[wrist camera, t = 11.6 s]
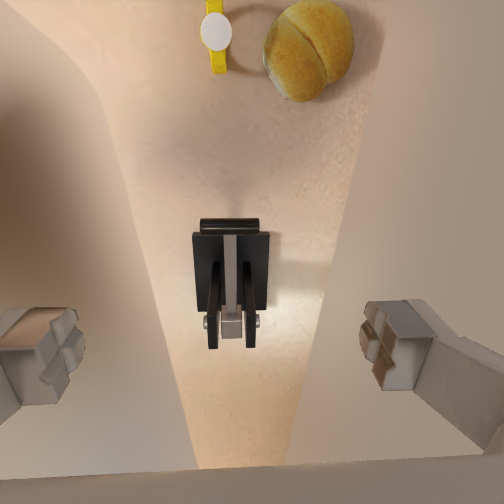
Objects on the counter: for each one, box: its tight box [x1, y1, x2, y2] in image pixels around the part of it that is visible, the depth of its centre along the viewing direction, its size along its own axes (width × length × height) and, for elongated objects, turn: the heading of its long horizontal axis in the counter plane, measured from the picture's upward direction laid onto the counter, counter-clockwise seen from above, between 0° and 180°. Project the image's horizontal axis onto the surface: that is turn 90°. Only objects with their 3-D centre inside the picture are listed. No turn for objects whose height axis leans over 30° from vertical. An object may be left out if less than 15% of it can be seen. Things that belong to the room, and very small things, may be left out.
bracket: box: [192, 232, 270, 349], centre depth 38 cm, size 12×10×13 cm
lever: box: [200, 218, 259, 339], centre depth 30 cm, size 14×5×2 cm, turn 179°
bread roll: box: [262, 0, 354, 102], centre depth 30 cm, size 8×9×4 cm
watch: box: [200, 0, 232, 74], centre depth 29 cm, size 6×3×6 cm, turn 2°
